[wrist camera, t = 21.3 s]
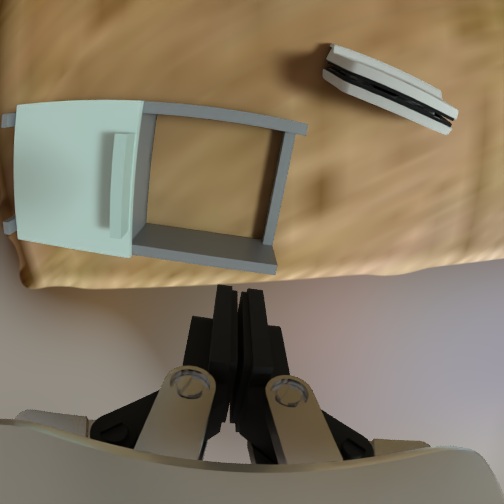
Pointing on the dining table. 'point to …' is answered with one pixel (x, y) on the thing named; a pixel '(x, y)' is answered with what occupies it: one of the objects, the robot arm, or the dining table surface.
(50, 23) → the dining table surface
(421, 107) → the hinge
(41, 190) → the lid
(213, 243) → the housing
